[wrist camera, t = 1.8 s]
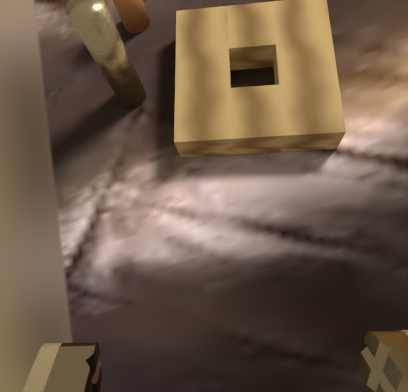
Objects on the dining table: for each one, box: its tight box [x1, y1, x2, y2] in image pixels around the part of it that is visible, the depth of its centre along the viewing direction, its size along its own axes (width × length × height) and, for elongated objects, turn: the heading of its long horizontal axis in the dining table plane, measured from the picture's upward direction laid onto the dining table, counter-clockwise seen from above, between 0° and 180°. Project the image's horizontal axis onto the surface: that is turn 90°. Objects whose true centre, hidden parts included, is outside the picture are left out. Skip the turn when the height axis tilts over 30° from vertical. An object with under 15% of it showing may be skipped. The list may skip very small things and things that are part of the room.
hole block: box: [174, 0, 346, 157], centre depth 47 cm, size 20×20×4 cm
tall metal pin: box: [66, 0, 146, 108], centre depth 44 cm, size 4×4×16 cm
